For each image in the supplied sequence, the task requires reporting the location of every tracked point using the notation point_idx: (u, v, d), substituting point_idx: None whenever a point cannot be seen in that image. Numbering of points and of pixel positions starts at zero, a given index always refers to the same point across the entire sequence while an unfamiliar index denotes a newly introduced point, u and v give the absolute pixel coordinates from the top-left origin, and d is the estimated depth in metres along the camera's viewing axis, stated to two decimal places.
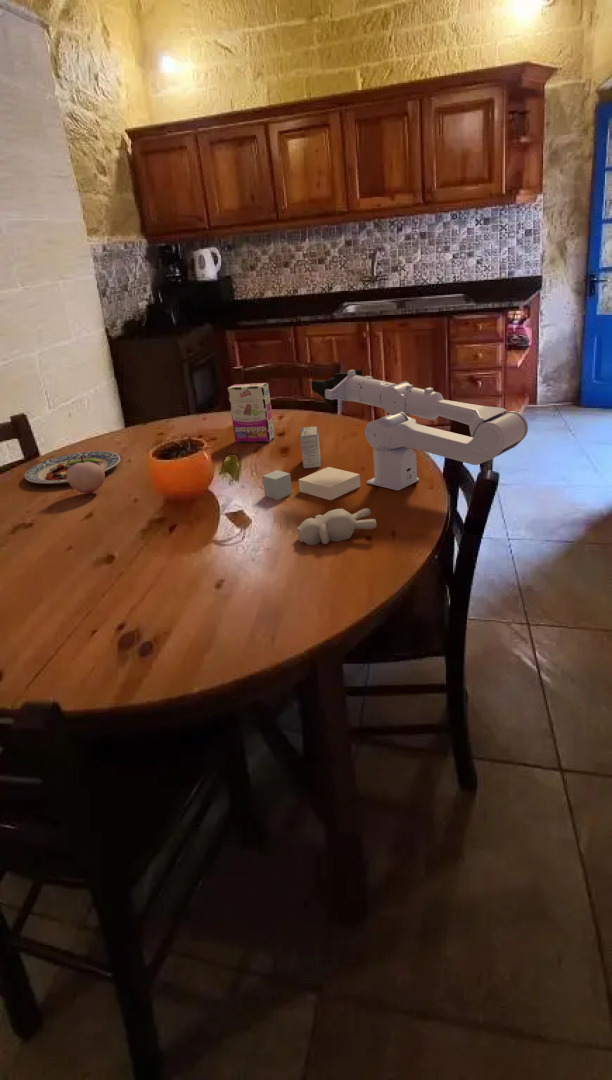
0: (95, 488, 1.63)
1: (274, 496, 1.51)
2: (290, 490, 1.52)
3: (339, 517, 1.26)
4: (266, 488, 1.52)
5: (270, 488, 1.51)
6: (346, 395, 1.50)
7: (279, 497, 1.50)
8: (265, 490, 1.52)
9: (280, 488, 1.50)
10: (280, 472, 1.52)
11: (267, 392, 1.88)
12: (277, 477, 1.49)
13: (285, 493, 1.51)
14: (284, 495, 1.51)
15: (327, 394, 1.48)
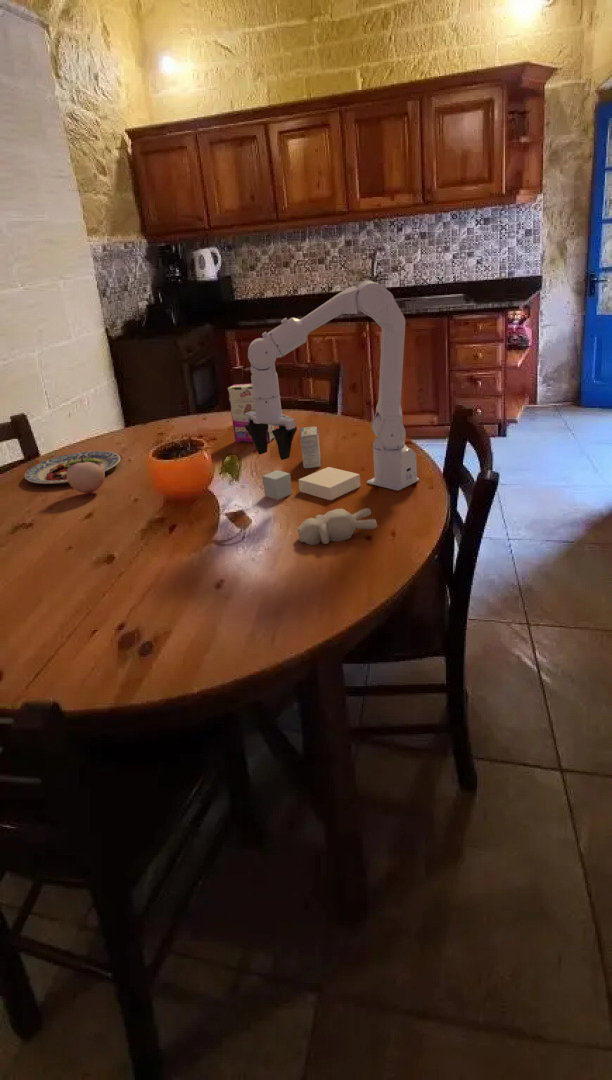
0: (95, 488, 1.63)
1: (274, 496, 1.51)
2: (290, 490, 1.52)
3: (339, 517, 1.26)
4: (266, 488, 1.52)
5: (270, 488, 1.51)
6: (280, 414, 1.44)
7: (279, 497, 1.50)
8: (265, 490, 1.52)
9: (280, 488, 1.50)
10: (280, 472, 1.52)
11: None
12: (277, 477, 1.49)
13: (285, 493, 1.51)
14: (284, 495, 1.51)
15: (291, 424, 1.41)
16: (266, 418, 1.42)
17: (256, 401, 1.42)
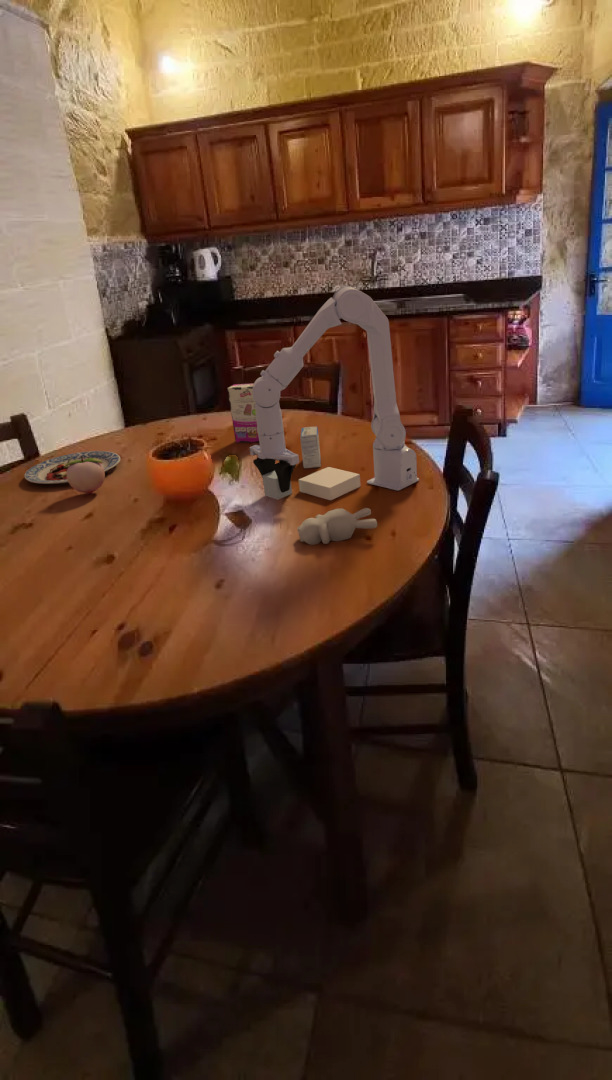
0: (95, 488, 1.63)
1: (274, 496, 1.51)
2: (290, 490, 1.52)
3: (340, 517, 1.26)
4: (266, 488, 1.52)
5: (269, 487, 1.51)
6: (284, 449, 1.47)
7: (279, 497, 1.50)
8: (265, 490, 1.52)
9: None
10: None
11: None
12: None
13: (285, 493, 1.51)
14: (284, 495, 1.51)
15: (295, 460, 1.44)
16: (270, 453, 1.46)
17: (261, 437, 1.45)
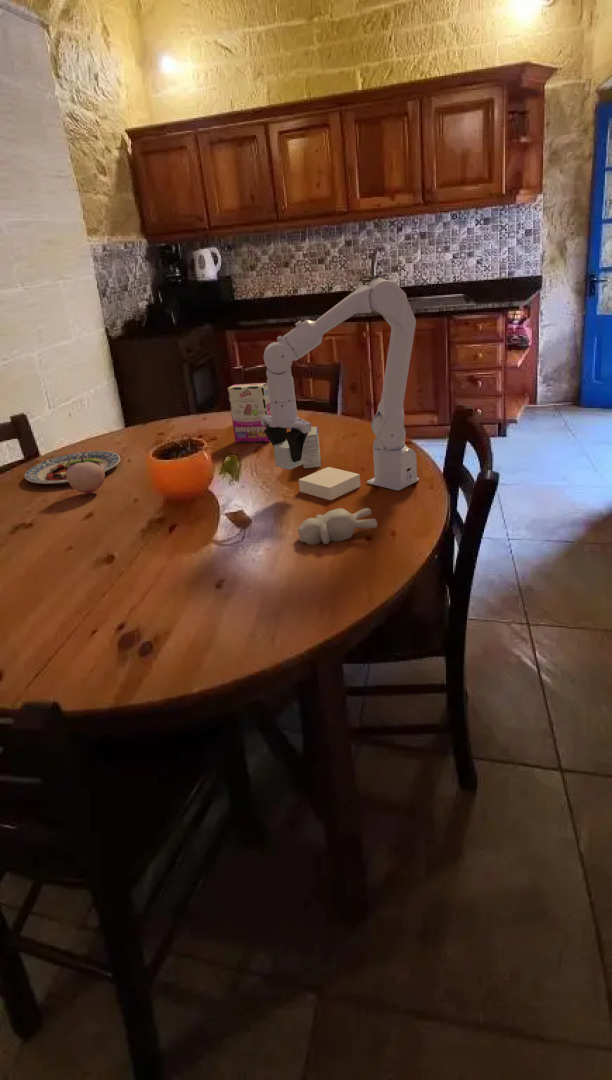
0: (95, 488, 1.63)
1: (285, 466, 1.48)
2: (302, 460, 1.49)
3: (340, 517, 1.26)
4: (277, 458, 1.49)
5: (281, 457, 1.48)
6: (296, 417, 1.44)
7: (291, 467, 1.47)
8: (276, 460, 1.49)
9: (291, 458, 1.47)
10: None
11: (267, 392, 1.88)
12: (288, 446, 1.46)
13: (297, 463, 1.48)
14: (296, 465, 1.48)
15: (307, 428, 1.41)
16: (282, 422, 1.43)
17: (272, 405, 1.42)
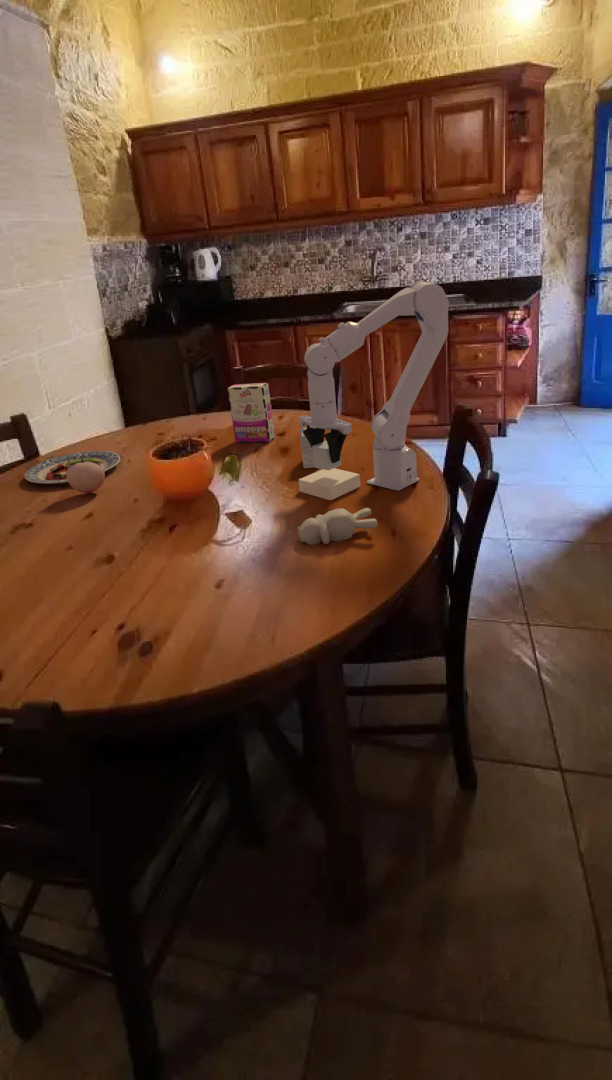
0: (95, 488, 1.63)
1: (324, 466, 1.48)
2: (340, 461, 1.50)
3: (340, 517, 1.26)
4: (316, 459, 1.49)
5: (320, 458, 1.48)
6: (335, 418, 1.45)
7: (329, 467, 1.48)
8: (314, 461, 1.50)
9: None
10: None
11: (267, 392, 1.88)
12: (328, 447, 1.47)
13: (335, 464, 1.49)
14: (334, 466, 1.49)
15: (348, 429, 1.42)
16: (322, 423, 1.43)
17: (312, 406, 1.43)
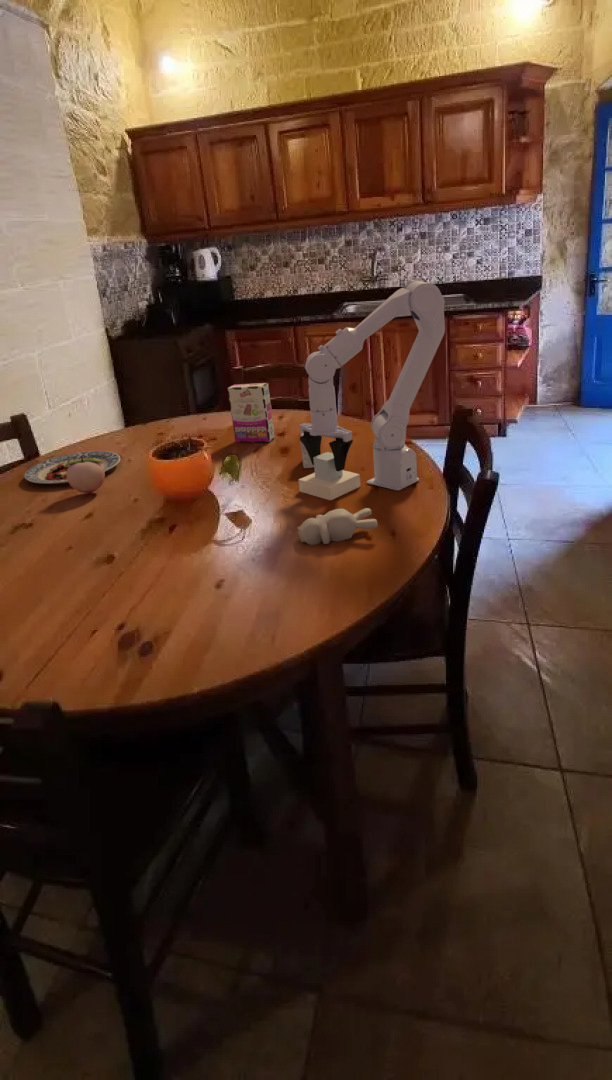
0: (95, 488, 1.63)
1: (325, 478, 1.49)
2: (341, 472, 1.51)
3: (340, 517, 1.26)
4: (317, 470, 1.50)
5: (321, 469, 1.49)
6: (336, 426, 1.45)
7: (330, 479, 1.49)
8: (316, 472, 1.51)
9: (331, 470, 1.48)
10: (331, 454, 1.51)
11: (267, 392, 1.88)
12: (329, 458, 1.48)
13: (336, 475, 1.50)
14: (335, 477, 1.50)
15: (349, 436, 1.42)
16: (323, 430, 1.44)
17: (313, 413, 1.44)
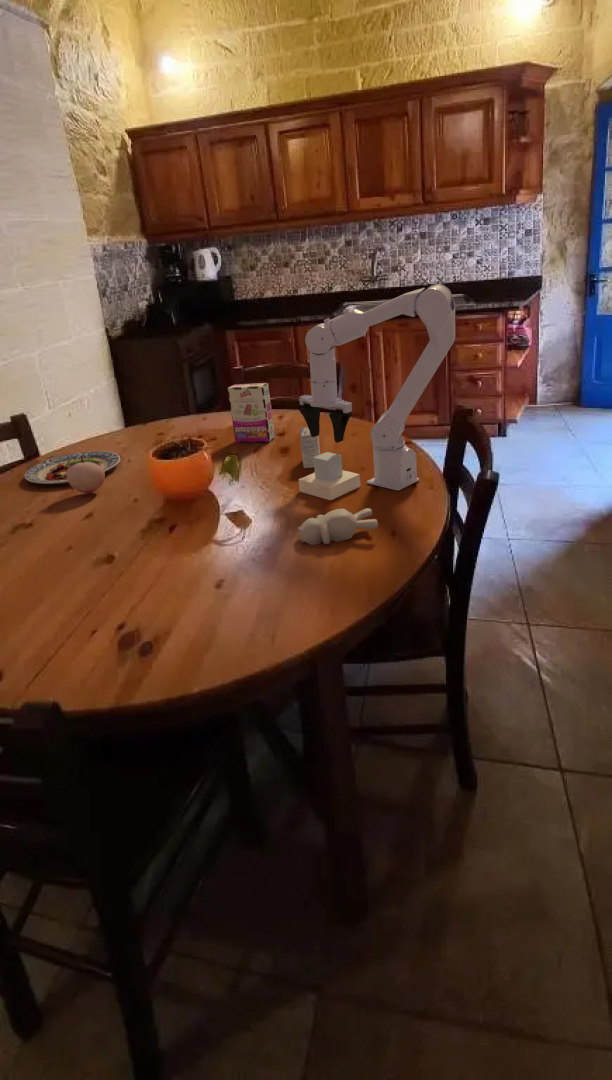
0: (95, 488, 1.63)
1: (325, 478, 1.49)
2: (341, 472, 1.51)
3: (340, 517, 1.26)
4: (317, 470, 1.50)
5: (321, 469, 1.49)
6: (336, 398, 1.48)
7: (330, 479, 1.49)
8: (316, 472, 1.51)
9: (331, 470, 1.48)
10: (331, 454, 1.51)
11: (267, 392, 1.88)
12: (329, 458, 1.48)
13: (336, 475, 1.50)
14: (335, 477, 1.50)
15: (349, 408, 1.45)
16: (323, 401, 1.47)
17: (314, 385, 1.46)
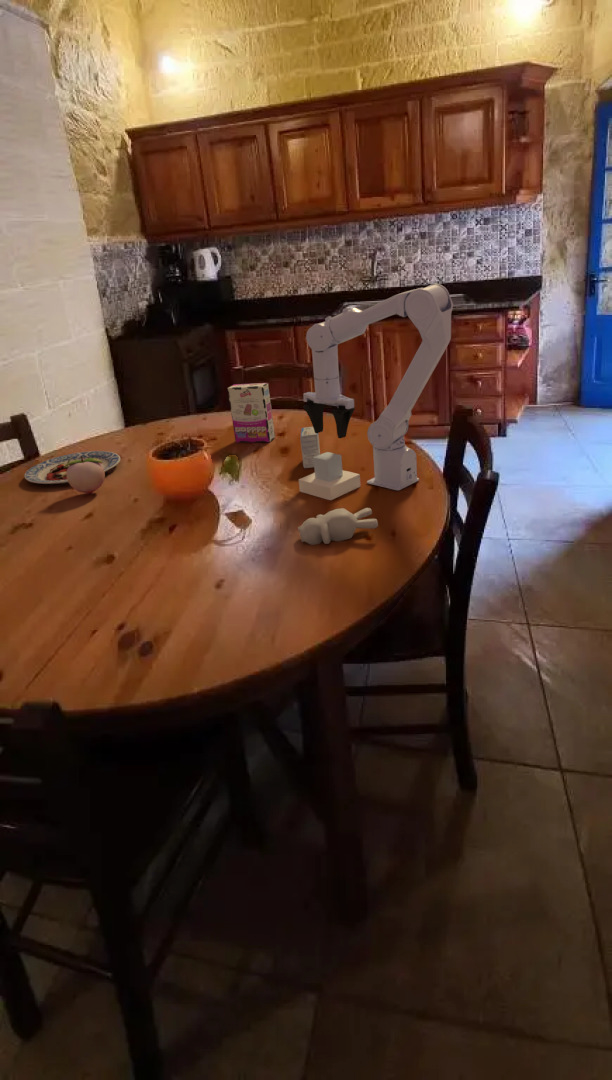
0: (95, 488, 1.63)
1: (325, 478, 1.49)
2: (341, 472, 1.51)
3: (341, 517, 1.26)
4: (317, 470, 1.50)
5: (321, 469, 1.49)
6: (339, 394, 1.51)
7: (330, 479, 1.49)
8: (316, 472, 1.51)
9: (331, 470, 1.48)
10: (331, 454, 1.51)
11: (267, 392, 1.88)
12: (329, 458, 1.48)
13: (336, 475, 1.50)
14: (335, 477, 1.50)
15: (351, 404, 1.48)
16: (326, 398, 1.50)
17: (317, 382, 1.49)
